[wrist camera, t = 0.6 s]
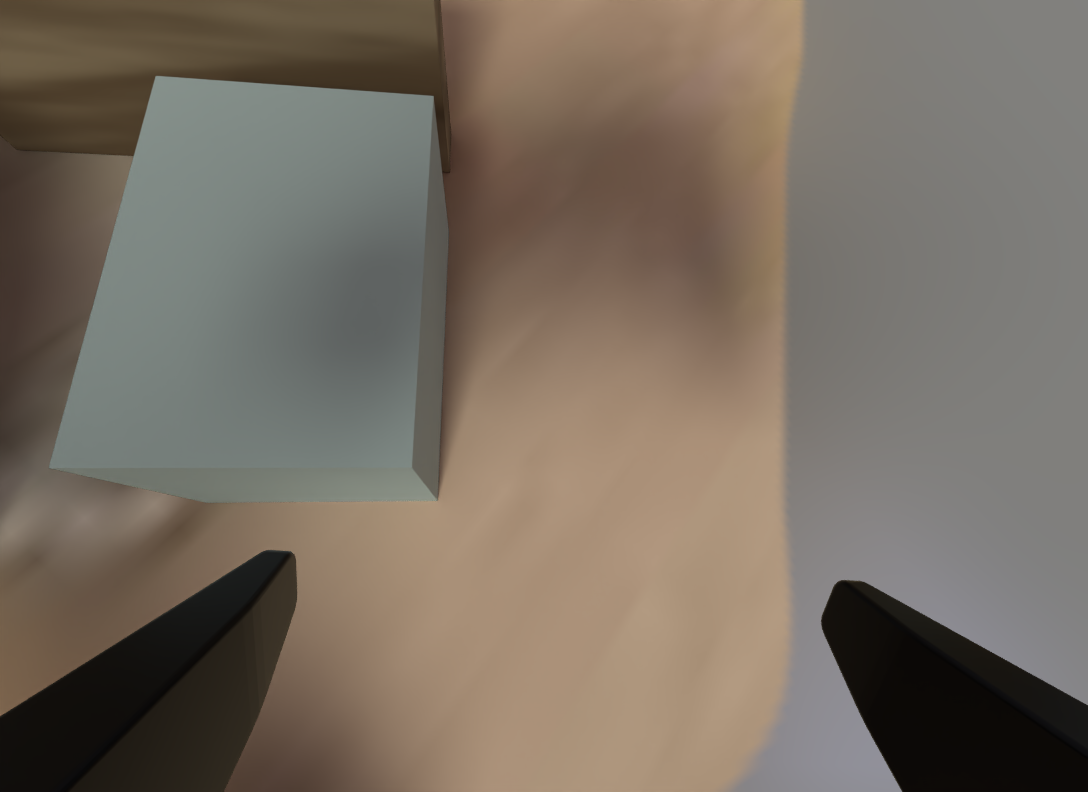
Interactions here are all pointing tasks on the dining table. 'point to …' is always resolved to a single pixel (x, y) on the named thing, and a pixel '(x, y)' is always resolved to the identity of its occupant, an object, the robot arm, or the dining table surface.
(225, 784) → the robot arm
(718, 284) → the dining table surface
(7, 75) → the walnut board
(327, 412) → the grey block
